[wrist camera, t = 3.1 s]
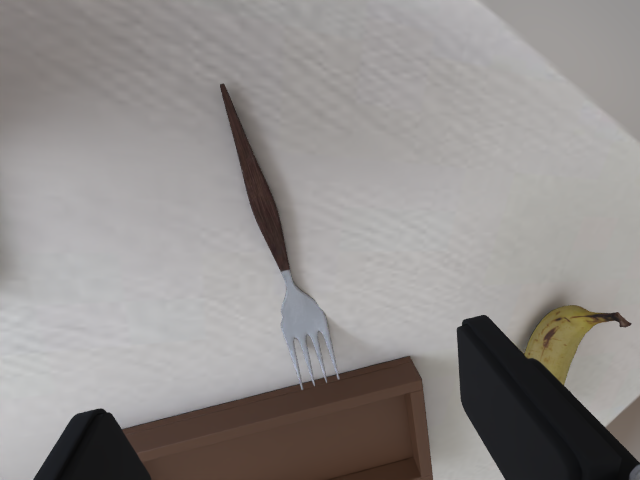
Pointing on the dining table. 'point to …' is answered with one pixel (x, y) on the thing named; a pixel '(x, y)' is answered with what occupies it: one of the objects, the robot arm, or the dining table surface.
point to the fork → (279, 254)
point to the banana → (564, 336)
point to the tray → (300, 432)
